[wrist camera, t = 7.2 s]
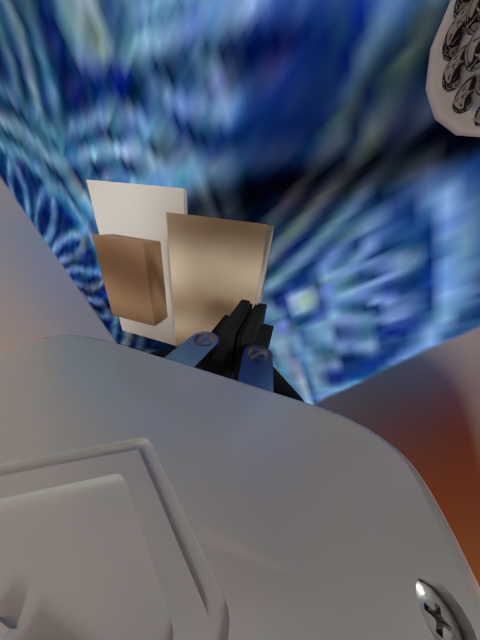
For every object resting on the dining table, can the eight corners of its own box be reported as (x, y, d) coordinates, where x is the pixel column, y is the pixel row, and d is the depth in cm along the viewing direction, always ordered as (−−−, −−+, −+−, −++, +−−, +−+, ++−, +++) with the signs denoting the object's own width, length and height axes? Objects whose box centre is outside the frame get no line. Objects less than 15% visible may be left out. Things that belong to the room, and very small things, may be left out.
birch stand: (192, 215, 18) (166, 212, 14) (274, 225, 16) (267, 224, 13) (194, 335, 24) (176, 353, 21) (252, 351, 23) (243, 373, 19)
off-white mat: (92, 180, 19) (86, 179, 18) (186, 189, 17) (183, 188, 16) (125, 328, 28) (122, 330, 27) (191, 346, 25) (189, 349, 25)
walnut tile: (142, 243, 17) (160, 241, 19) (91, 234, 18) (113, 234, 20) (154, 326, 21) (167, 317, 23) (112, 315, 23) (128, 307, 25)
